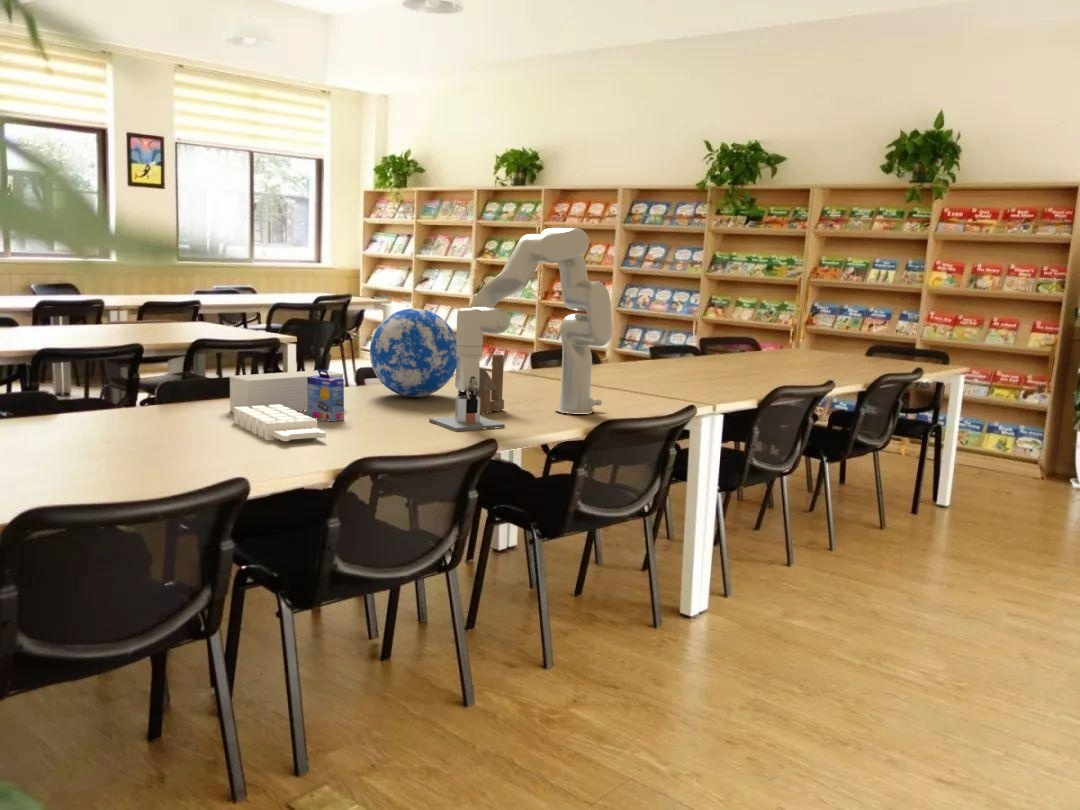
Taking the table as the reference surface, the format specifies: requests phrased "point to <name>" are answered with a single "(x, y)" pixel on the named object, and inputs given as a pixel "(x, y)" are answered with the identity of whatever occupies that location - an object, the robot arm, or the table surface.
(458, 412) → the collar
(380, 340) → the decorative globe
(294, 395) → the stack of papers
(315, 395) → the ink cartridge box
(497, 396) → the wooden block
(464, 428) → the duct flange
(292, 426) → the organizer
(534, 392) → the table surface
